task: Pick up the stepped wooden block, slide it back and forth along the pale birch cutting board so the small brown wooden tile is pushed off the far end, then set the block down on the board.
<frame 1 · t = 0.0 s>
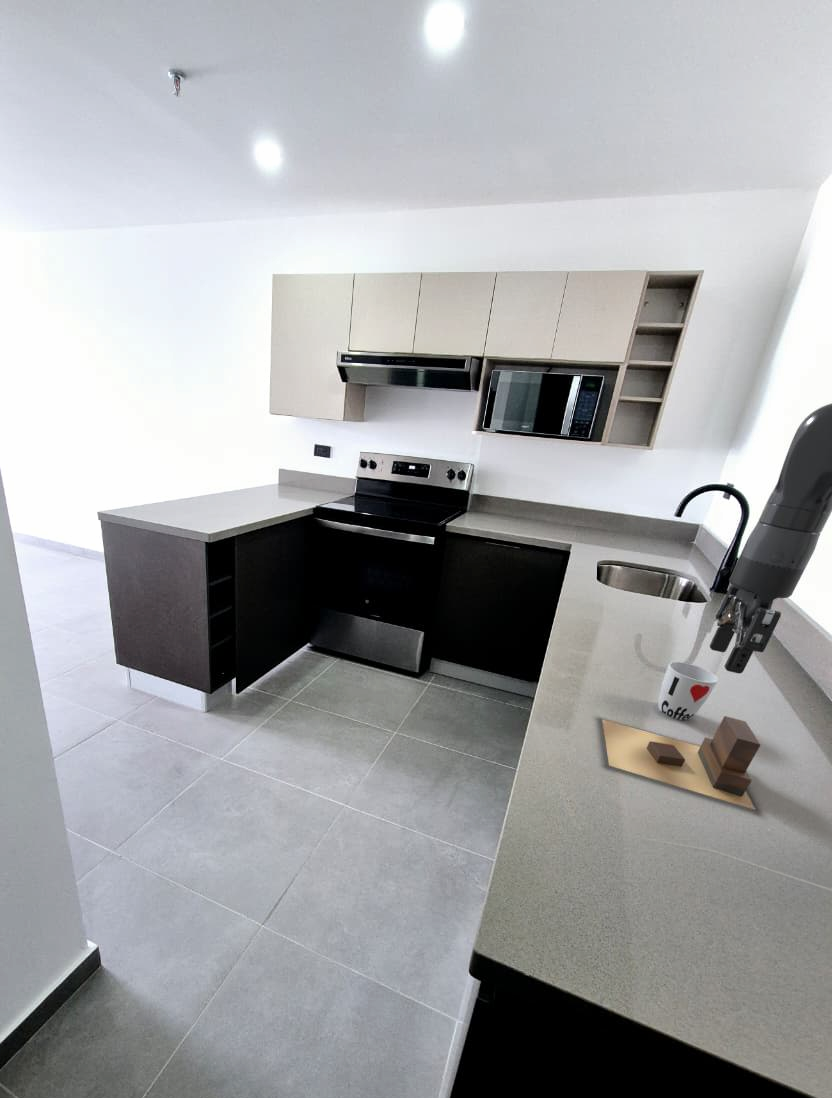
hand: (724, 660, 77), 19 cm above the worktop, tool pointing down, fingers open, 8 cm apart
cup: (672, 717, 98), on the worktop
small brown wooden tile: (663, 757, 83), point 1 cm above the worktop, touching board
board: (668, 764, 83), on the worktop
stepped wooden block: (718, 773, 80), point 1 cm above the worktop, touching board
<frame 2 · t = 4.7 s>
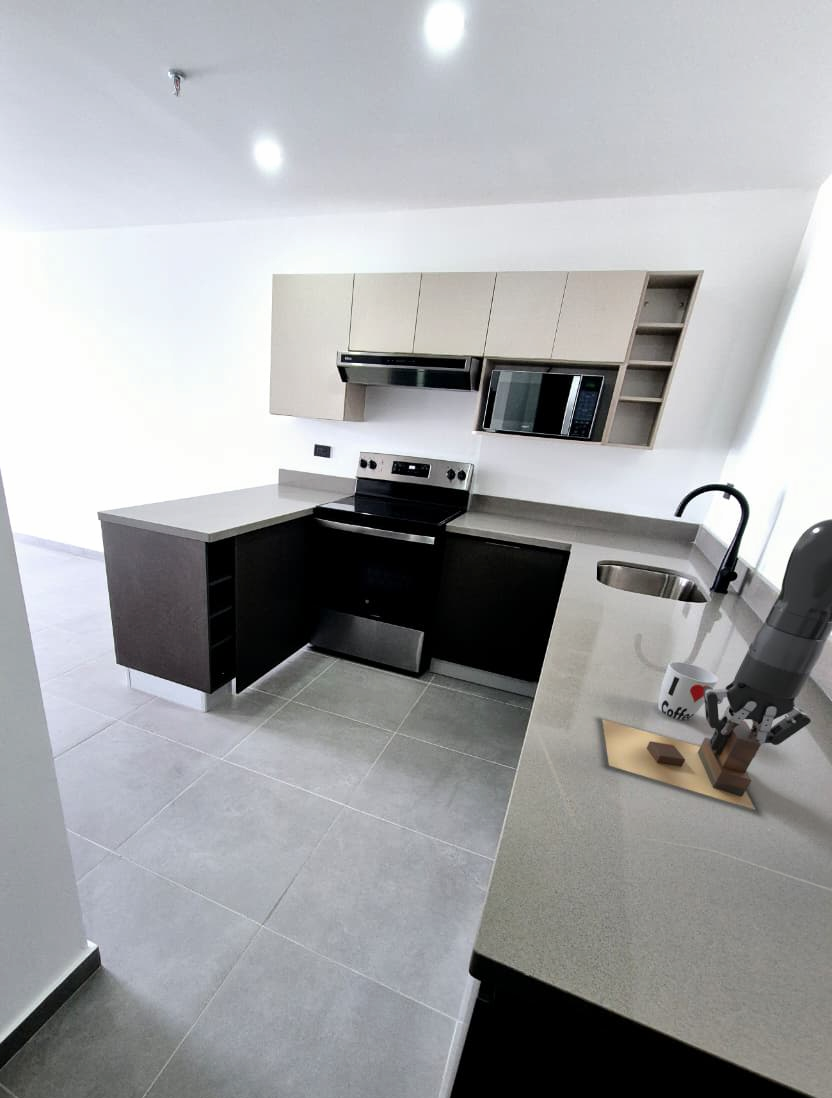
hand: (728, 755, 79), 5 cm above the worktop, tool pointing down, fingers closed on stepped wooden block, 3 cm apart
stepped wooden block: (718, 773, 80), point 1 cm above the worktop, touching board, gripper
everything else where it was.
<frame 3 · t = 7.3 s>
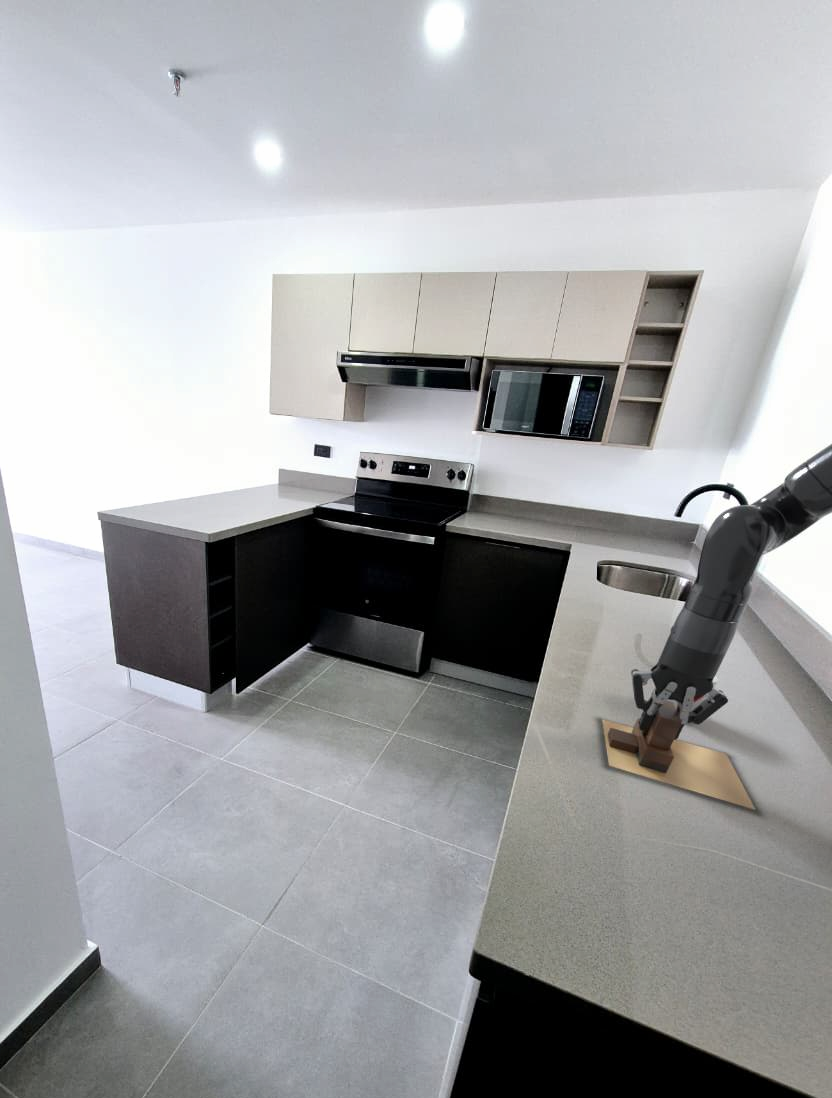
hand: (655, 735, 82), 5 cm above the worktop, tool pointing down, fingers closed on stepped wooden block, 3 cm apart
small brown wooden tile: (620, 744, 85), point 1 cm above the worktop, touching board
stepped wooden block: (647, 751, 83), point 1 cm above the worktop, touching gripper
everything else where it was.
when the fingers open (4 cm above the worktop, at t = 16.4 s): stepped wooden block stays where it is, resting on board.
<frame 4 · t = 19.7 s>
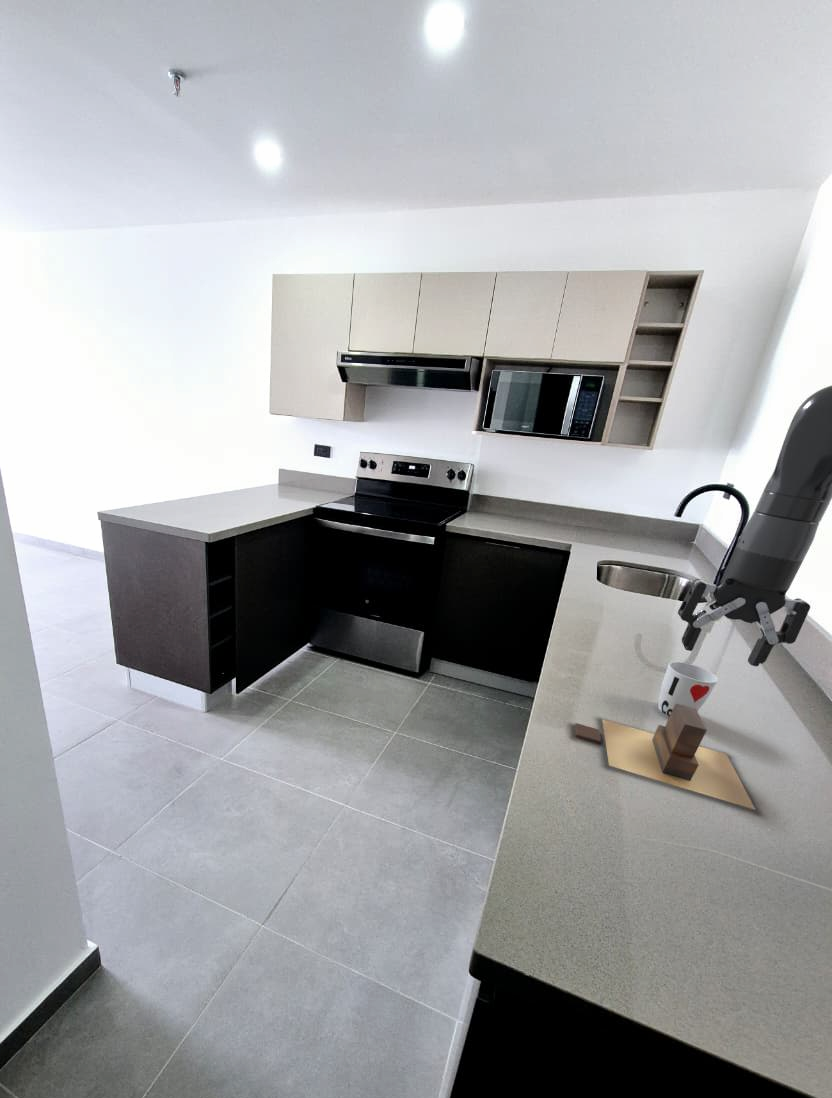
hand: (719, 656, 75), 20 cm above the worktop, tool pointing down, fingers open, 8 cm apart
small brown wooden tile: (585, 739, 87), on the worktop
stepped wooden block: (670, 759, 82), point 1 cm above the worktop, touching board
everything else where it was.
at the end: small brown wooden tile touching worktop; stepped wooden block inside the target area (0.1 cm from its centre), point 1.0 cm above the worktop; the gripper is holding nothing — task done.
